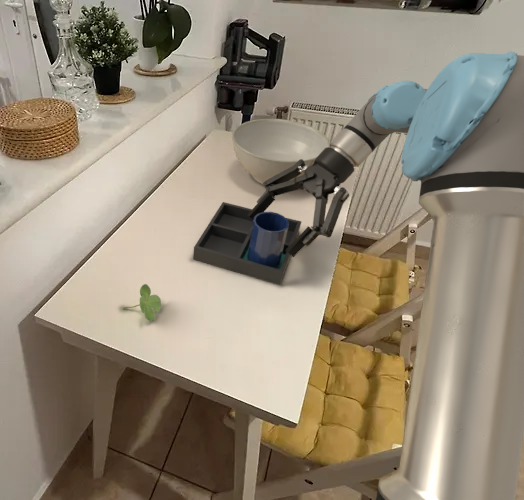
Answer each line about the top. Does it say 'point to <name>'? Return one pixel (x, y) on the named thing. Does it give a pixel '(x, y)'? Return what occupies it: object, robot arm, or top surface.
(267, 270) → the tray
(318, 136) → the decorative bowl
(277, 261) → the cup
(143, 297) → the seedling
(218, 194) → the top surface
